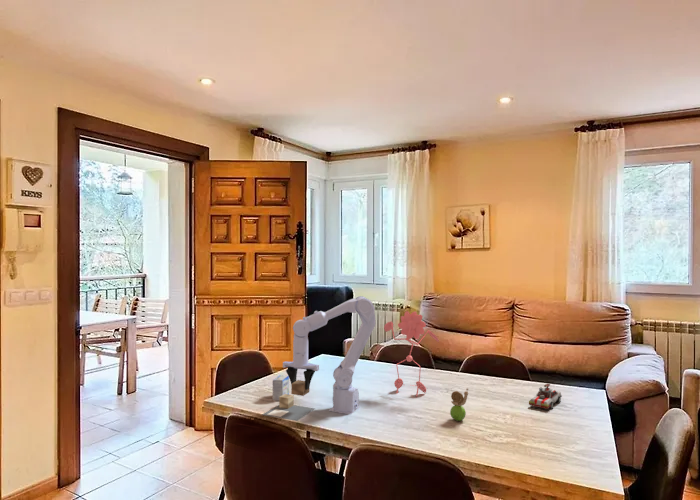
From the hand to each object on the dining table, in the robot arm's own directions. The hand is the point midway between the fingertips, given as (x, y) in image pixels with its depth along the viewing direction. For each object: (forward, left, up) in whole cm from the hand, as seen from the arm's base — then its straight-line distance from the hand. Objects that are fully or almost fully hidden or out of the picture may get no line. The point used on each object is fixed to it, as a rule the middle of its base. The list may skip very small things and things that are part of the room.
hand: (300, 388), depth 173 cm
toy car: (-85, -48, -9) cm, 98 cm away
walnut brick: (0, 0, -2) cm, 2 cm away
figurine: (-32, -43, -9) cm, 54 cm away
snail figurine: (-57, -16, -9) cm, 59 cm away
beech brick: (+7, -2, -9) cm, 11 cm away
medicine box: (+15, -11, -9) cm, 21 cm away
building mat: (+3, +2, -9) cm, 10 cm away
